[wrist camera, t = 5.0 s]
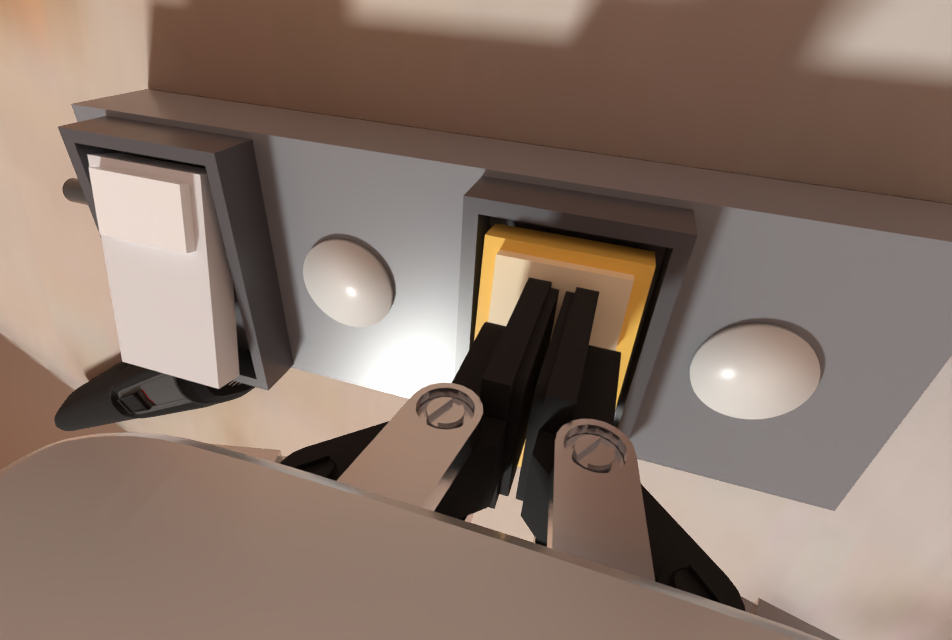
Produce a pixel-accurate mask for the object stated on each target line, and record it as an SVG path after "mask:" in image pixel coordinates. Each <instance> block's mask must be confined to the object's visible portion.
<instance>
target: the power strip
mask: <svg viewBox="0 0 952 640" xmlns="http://www.w3.org/2000/svg"><path fill="white" fill-rule="evenodd" d="M71 105H72V108H73V110H74V113H75V116H76V119H77V121H78V122H76V123H72V124H68V125H63V126H59V127H58V128H59V131H60V134H61V136H62V139H63V141H64V144H65V146H66V149H67V152H68V154H69V157H70V159H71V162H72V164H73V167H74V169H75V172H76V175H77V177H78V179H75V178H71V179H68V180H67V181H66V182H65V183H64V185H63V194H64V196H65V197H66V198H67V199H68V200H70V201H72V202H77V203H81V204H86V205H89V208H90V211H91V213H92V216H93V218H94V221H95V223H96V226H97V228H98V231H99V227H98V221H97V215H96V209H95V203H94V197H93V191H92V186H91V180H90V174H89V168H88V167H89V161H88V155H87V154H104V153H122V154H127V155H133V156H138V157H144V158H150V159H155V160H161V161H167V162H172V163H178V164H183V165H189V166H195V167H200V168H206V171H207V175H208V179H209V183H210V188H211V192H212V196H213V200H214V204H215V208H216V212H217V217H218V221H219V225H220V229H221V233H222V237H223V241H224V246H225V250H226V254H227V258H228V262H229V266H230V270H231V274H232V279H233V288H234V303H235V317H236V332H237V346H238V361H239V376H238V377H237V378H235V379H234V380H233V381H236V382H240V383H243V384H247V385H251V386H254V387H258V388H261V389H265V390H269V389H270V388H271V387H272V386H273V385H274V384H275V383H276V382H277V381H278V380H279V379H280V378H281V377H282V376H283V375H284V374H285V373H286V372H287V371H288V370H289V369H290V368H295V369H299V370H302V371H306V372H310V373H314V374H318V375H321V376H325V377H329V378H333V379H337V380H340V381H344V382H348V383H352V384H356V385H359V386H363V387H367V388H371V389H374V390H378V391H382V392H386V393H390V394H393V395H397V396H401V397H405V398H409V399H410V398H411V397H412V395H413V394H415V393H416V392H417V391H418V390H420V389H421V388H423V387H426V386H428V385H430V384H436V383H452V381H453V379H454V377H455V376H456V374H457V372H458V370H459V368H460V366H461V364H462V363H463V361H464V359H465V357H466V355H467V353H468V351H469V350H470V348H471V346H472V344H473V342H474V337H475V327H476V317H477V308H478V298H479V288H480V278H481V268H482V259H483V249H484V239H485V234H486V233H487V232H488V231H489V230H490V229H491V227H492V226H493V225H494V224H495V223H497V224H503V225H509V226H514V227H520V228H525V229H531V230H536V231H542V232H548V233H553V234H559V235H564V236H570V237H576V238H581V239H587V240H592V241H598V242H603V243H609V244H615V245H620V246H626V247H631V248H637V249H642V250H648V251H654V252H655V262H656V267H655V271H654V274H653V278H652V281H651V285H650V288H649V292H648V296H647V299H646V303H645V306H644V310H643V313H642V317H641V320H640V324H639V327H638V331H637V334H636V338H635V342H634V345H633V349H632V352H631V356H630V359H629V363H628V366H627V370H626V373H625V377H624V380H623V384H622V387H621V391H620V395H619V398H618V402H617V405H616V409H615V417H614V427H616V428H618V429H619V430H620V431H621V432H623V433H624V434H625V435H626V436H627V437H628V439H629V440H630V441H631V442H632V444H633V446H634V449H635V452H636V456H637V459H640V460H643V461H647V462H651V463H655V464H659V465H662V466H666V467H670V468H674V469H678V470H681V471H685V472H689V473H693V474H697V475H700V476H704V477H708V478H712V479H715V480H719V481H723V482H727V483H731V484H734V485H738V486H742V487H746V488H750V489H753V490H757V491H761V492H765V493H769V494H772V495H776V496H780V497H784V498H787V499H791V500H795V501H799V502H803V503H806V504H810V505H814V506H818V507H822V508H825V509H829V510H833V511H835V509H836V508H837V507H838V506H839V504H840V503H841V502H842V500H843V499H844V498H845V496H846V495H847V494H848V492H849V491H850V490H851V488H852V487H853V486H854V484H855V483H856V482H857V480H858V479H859V478H860V476H861V475H862V474H863V472H864V471H865V470H866V468H867V467H868V466H869V464H870V463H871V462H872V460H873V459H874V458H875V456H876V455H877V454H878V452H879V451H880V450H881V448H882V447H883V446H884V444H885V443H886V442H887V440H888V439H889V438H890V436H891V435H892V434H893V432H894V431H895V430H896V429H897V427H898V426H899V425H900V423H901V422H902V421H903V419H904V418H905V417H906V415H907V414H908V413H909V411H910V410H911V409H912V407H913V406H914V405H915V403H916V402H917V401H918V399H919V398H920V397H921V395H922V394H923V393H924V391H925V390H926V389H927V387H928V386H929V385H930V383H931V382H932V381H933V379H934V378H935V377H936V375H937V374H938V373H939V371H940V370H941V369H942V367H943V366H944V365H945V363H946V362H947V361H948V359H949V358H950V357H951V355H952V204H945V203H938V202H931V201H924V200H917V199H910V198H903V197H896V196H889V195H882V194H875V193H868V192H861V191H854V190H847V189H840V188H833V187H826V186H819V185H812V184H805V183H798V182H791V181H784V180H777V179H770V178H763V177H756V176H749V175H742V174H735V173H728V172H721V171H714V170H707V169H701V168H694V167H687V166H680V165H673V164H666V163H659V162H652V161H645V160H638V159H631V158H624V157H617V156H610V155H603V154H596V153H589V152H582V151H575V150H568V149H561V148H554V147H547V146H540V145H533V144H526V143H519V142H512V141H505V140H498V139H491V138H484V137H477V136H470V135H463V134H456V133H449V132H442V131H435V130H428V129H421V128H414V127H407V126H400V125H393V124H386V123H379V122H373V121H366V120H359V119H352V118H345V117H338V116H331V115H324V114H317V113H310V112H303V111H296V110H289V109H282V108H275V107H268V106H261V105H254V104H247V103H240V102H233V101H226V100H219V99H212V98H205V97H198V96H191V95H184V94H177V93H170V92H163V91H156V90H149V89H145V90H140V91H135V92H130V93H125V94H120V95H115V96H110V97H105V98H99V99H94V100H89V101H84V102H79V103H74V104H71ZM99 234H100V233H99ZM100 236H101V235H100ZM101 239H102V238H101Z"/></svg>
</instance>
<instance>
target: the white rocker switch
mask: <svg viewBox="0 0 952 640" xmlns="http://www.w3.org/2000/svg"><path fill="white" fill-rule="evenodd" d="M87 155H88V161H89V167H88V168H89V174H90V180H91V186H92V191H93V197H94V203H95V209H96V215H97V221H98V227H99V233H100V235H101V238H102V244H103V250H104V256H105V262H106V268H107V274H108V280H109V286H110V292H111V298H112V304H113V310H114V315H115V321H116V327H117V333H118V339H119V345H120V351H121V357H122V362H126V363H129V364H133V365H136V366H140V367H143V368H147V369H150V370H154V371H157V372H161V373H164V374H168V375H171V376H175V377H178V378H182V379H185V380H189V381H193V382H196V383H200V384H203V385H207V386H210V387H214V388H217V389H220V388H221V387H223V386H224V385H226V384H227V383H229V382H231V381H232V380H234V379H235V378H237V377H238V376H239V361H238V346H237V332H236V317H235V303H234V288H233V279H232V274H231V270H230V266H229V262H228V258H227V254H226V250H225V246H224V241H223V237H222V233H221V229H220V225H219V221H218V217H217V212H216V208H215V204H214V200H213V196H212V192H211V188H210V183H209V179H208V175H207V171H206V168H200V167H195V166H189V165H183V164H178V163H172V162H167V161H161V160H155V159H150V158H144V157H138V156H133V155H127V154H122V153H104V154H87Z"/></svg>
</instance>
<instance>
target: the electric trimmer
mask: <svg viewBox="0 0 952 640" xmlns="http://www.w3.org/2000/svg"><path fill="white" fill-rule="evenodd" d="M253 388H255V387H254V386H251V385H247V384H243V383H240V382H236V381H233V380H232V381H231V382H229V383H227V384H226V385H224V386H223V387H221V388H220V389H217V388H214V387H210V386H207V385H203V384H200V383H196V382H193V381H189V380H185V379H182V378H178V377H175V376H171V375H168V374H164V373H161V372H157V371H154V370H150V369H147V368H143V367H140V366H136V365H133V364H129V363H126V362H121V363H119V364H117V365H115V366H113V367H112V368H110V369H109V370H107V371H105V372H104V373H102V374H100V375H99V376H97V377H95V378H94V379H92V380H91V381H89V382H87V383H86V384H84V385H82V386H81V387H79V388H78V389H76V390H75V391H74V392H72V394H70V395H69V396H68V398H67V399H66V400H65V402H64V403H63V404H62V406H61V407H60V408H59V410H58V412H57V414H56V415H55V419H54V420H55V424H56V426H57V427H58V428H60V429H62V430H65V431H74V430H79V429H84V428H89V427H95V426H100V425H105V424H110V423H115V422H121V421H126V420H131V419H136V418H148V417H154V416H160V415H166V414H171V413H176V412H182V411H187V410H192V409H198V408H203V407H208V406H211V405H214V404H218V403H222V402H226V401H229V400H233V399H236V398H239V397H241V396H243V395H244V394H246V393H248V392H249V391H250V390H252V389H253Z"/></svg>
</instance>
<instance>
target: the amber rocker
mask: <svg viewBox="0 0 952 640" xmlns="http://www.w3.org/2000/svg"><path fill="white" fill-rule="evenodd" d="M655 267H656V262H655V252H654V251H648V250H642V249H637V248H631V247H626V246H620V245H615V244H609V243H603V242H598V241H592V240H587V239H581V238H576V237H570V236H564V235H559V234H553V233H548V232H542V231H536V230H531V229H525V228H520V227H514V226H509V225H503V224H497V223H495V224H494V225H493V226H492V227H491V229H490V230H489V231H488V232H487V233H486V234H485V239H484V249H483V259H482V268H481V278H480V288H479V298H478V308H477V317H476V327H475V337H474V340H475V339H476V337H477V335H478V333H479V331H480V329H481V327H482V326H483V324H484V323H485V322H490V323H494V324H499V325H503V326H506V325H507V323H508V321H509V319H510V317H511V315H512V312H513V310H514V308H515V306H516V304H517V302H518V300H519V298H520V295H521V293H522V291H523V289H524V287H525V285H526V283H527V280H528V278H529V277H530V278H535V279H540V280H545V281H550V282H552V286H551V288H554V289H559V295H558V301H557V307H556V312H555V318H554V323H553V329H552V334H553V331H554V328H555V325H556V322H557V318H558V315H559V312H560V309H561V306H562V303H563V300H564V296H565V293H566V291H569V292H574V293H575V291H576V287H580V288H585V289H589V290H594V291H599V297H598V302H597V307H596V312H595V317H594V321H593V326H592V331H591V336H590V341H589V345H592V346H596V347H601V348H605V349H609V350H614V351H618V352H621V362H620V371H619V380H618V390H617V399H616V405H617V402H618V398H619V395H620V391H621V387H622V384H623V380H624V377H625V373H626V370H627V366H628V363H629V359H630V356H631V352H632V349H633V345H634V342H635V338H636V334H637V331H638V327H639V324H640V320H641V317H642V313H643V310H644V306H645V303H646V299H647V296H648V292H649V288H650V285H651V281H652V278H653V274H654V271H655ZM552 334H551V337H552ZM615 409H616V408H615ZM525 441H526V440H525ZM524 447H525V443H524V446H523V450H522V453H521V456H520V460H519V463H518V466H517V467H521V465H522V459H523V453H524Z"/></svg>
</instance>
